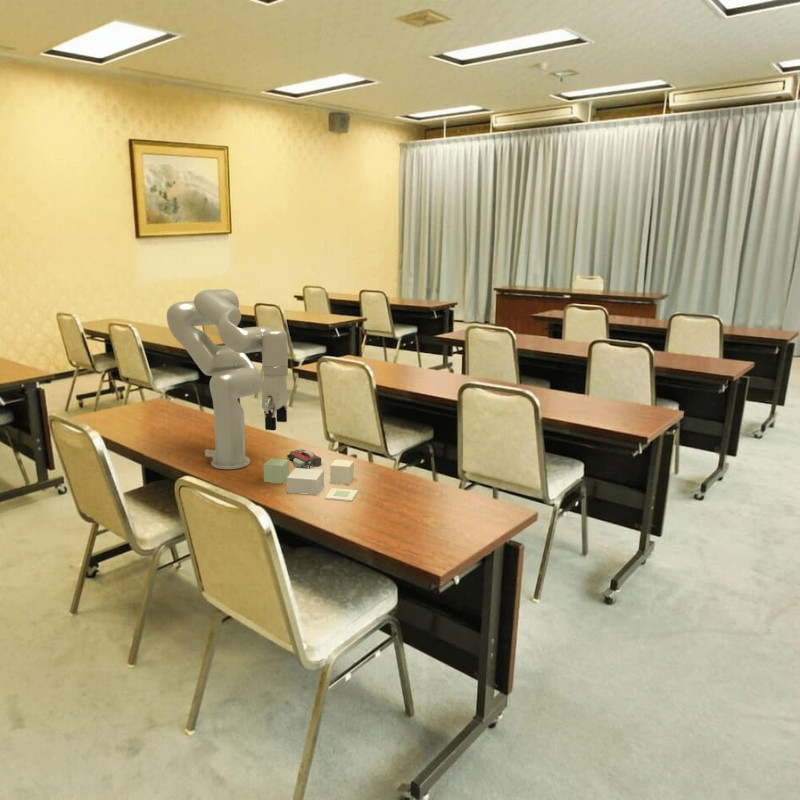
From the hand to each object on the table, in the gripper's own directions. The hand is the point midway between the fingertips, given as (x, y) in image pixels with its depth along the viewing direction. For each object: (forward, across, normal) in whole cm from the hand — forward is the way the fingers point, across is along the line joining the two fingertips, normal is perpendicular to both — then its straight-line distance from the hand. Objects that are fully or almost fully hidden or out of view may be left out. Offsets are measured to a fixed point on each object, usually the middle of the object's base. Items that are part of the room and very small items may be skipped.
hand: (276, 425), depth 201 cm
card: (+18, +8, +23) cm, 30 cm away
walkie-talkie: (+18, -16, +5) cm, 25 cm away
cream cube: (+18, -4, +20) cm, 27 cm away
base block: (+18, +5, +11) cm, 22 cm away
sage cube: (+18, 0, 0) cm, 18 cm away
